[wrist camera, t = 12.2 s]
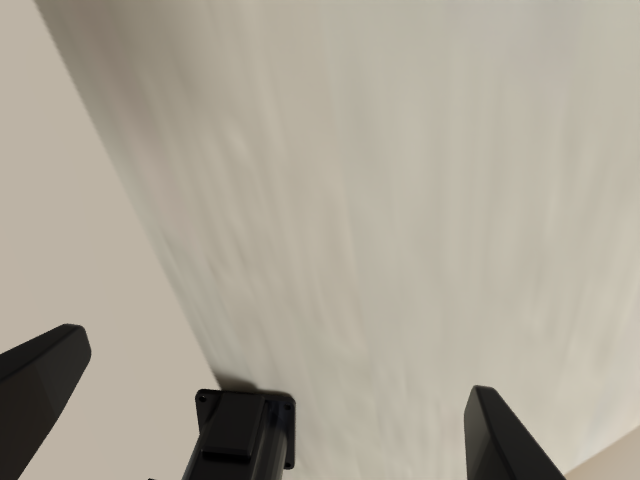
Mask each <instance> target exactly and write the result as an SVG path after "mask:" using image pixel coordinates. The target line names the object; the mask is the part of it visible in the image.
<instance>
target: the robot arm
mask: <svg viewBox="0 0 640 480" xmlns="http://www.w3.org/2000/svg"><path fill="white" fill-rule="evenodd" d="M90 358H91V348H90V344H89V341H88V338H87V334H86V331H85V329H84V328H83V327H82V326H80V325H74V324H63V325H60V326H58V327H56V328H54V329H52V330H50V331H48V332H46V333H44V334H42V335H39V336H38V337H35V338H33V339H31V340H29V341H27V342H25V343H23V344H21V345H19V346H16V347H14V348H12V349H10V350H8V351H6V352H4V353H2V354H0V480H18V478H19V477H20V475H21V474H22V472H23V471H24V469H25V468H26V466H27V465H28V463H29V462H30V460H31V459H32V458H33V456H34V454H35V453H36V451H37V450H38V448H39V447H40V446H41V444H42V443H43V441H44V439H45V438H46V436H47V435H48V434H49V432H50V431H51V429H52V427H53V426H54V424H55V423H56V421H57V420H58V418H59V416H60V414H61V413H62V411H63V409H64V407H65V406H66V404H67V402H68V400H69V398H70V396H71V394H72V393H73V391H74V389H75V387H76V385H77V383H78V382H79V380H80V378H81V376H82V374H83V372H84V370H85V369H86V367H87V365H88V363H89V361H90ZM202 396H203V397H202ZM195 402H196V409H197V417H198V425H199V432H200V435H199V438H198V440H197V443H196V445H195V448H194V450H193V453H192V455H191V458H190V460H189V463H188V465H187V467H186V470H185V473H184V475H183V477H182V480H281V479H282V473H283V469H286V470H290V469H293V468H294V465H295V436H296V402H295V400H294V399H293V398H291V397H286V396H275V395H264V394H253V393H243V392H232V391H221V390H210V389H200V390H199V391H198V392H197V394H196V396H195ZM286 404H288V405H286ZM464 431H465V448H466V465H467V480H566V478H565V477H564V476H563V475H562V473H561V472H560V471H559V470H558V468H557V467H556V466H555V464H554V463H553V462H552V461H551V459H550V458H549V457H548V456H547V454H546V453H545V452H544V450H543V449H542V448H541V447H540V445H539V444H538V443H537V442H536V440H535V439H534V438H533V437H532V435H531V434H530V433H529V431H528V430H527V429H526V428H525V426H524V425H523V424H522V423H521V421H520V420H519V419H518V417H517V416H516V415H515V414H514V412H513V411H512V410H511V409H510V407H509V406H508V405H507V404H506V402H505V401H504V400H503V398H502V397H501V396H500V395H499V393H498V392H497V391H496V390H495V389H494V388H492V387H487V386H480V385H475V386H473V388H472V390H471V393H470V396H469V399H468V402H467V405H466V408H465V412H464ZM148 480H154V479H150V478H149V479H148Z"/></svg>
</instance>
